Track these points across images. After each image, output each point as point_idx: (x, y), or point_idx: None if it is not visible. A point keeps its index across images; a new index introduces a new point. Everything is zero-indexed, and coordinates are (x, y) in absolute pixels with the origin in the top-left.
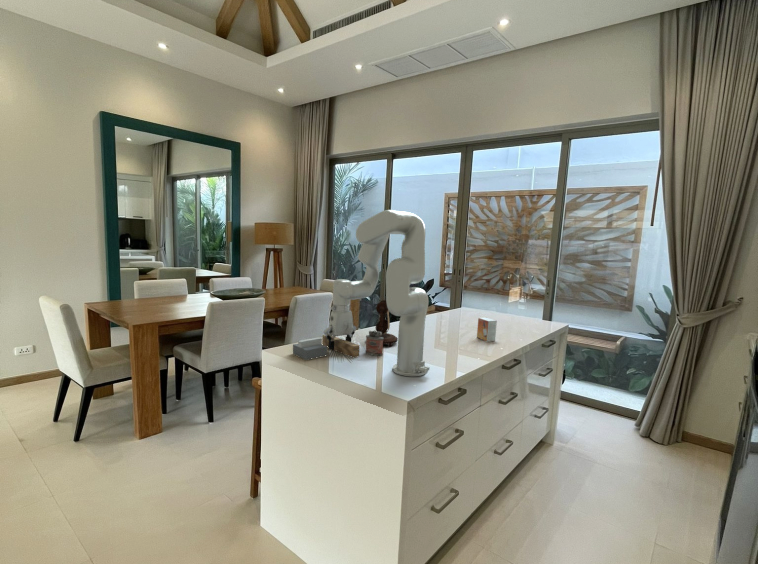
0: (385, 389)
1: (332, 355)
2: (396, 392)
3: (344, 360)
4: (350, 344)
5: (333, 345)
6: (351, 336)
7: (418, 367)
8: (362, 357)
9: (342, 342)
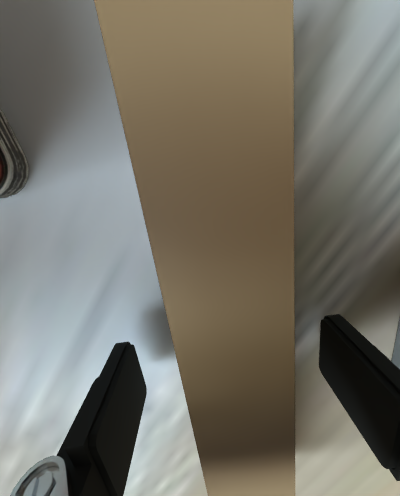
0: None
1: (362, 247)
2: None
3: (388, 22)
4: (262, 151)
5: (373, 348)
6: (40, 487)
7: None
8: None
9: (293, 342)
